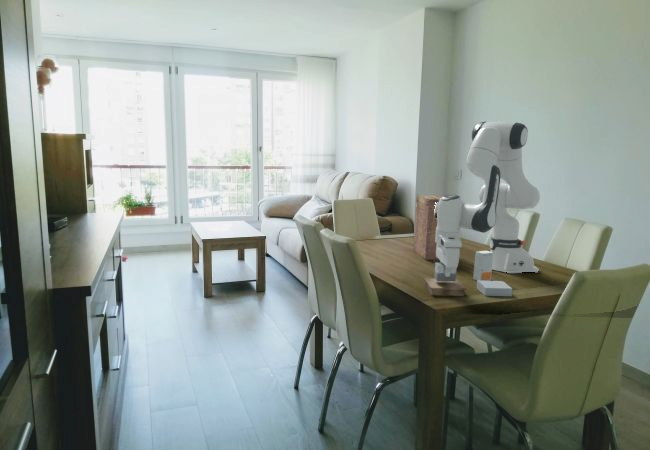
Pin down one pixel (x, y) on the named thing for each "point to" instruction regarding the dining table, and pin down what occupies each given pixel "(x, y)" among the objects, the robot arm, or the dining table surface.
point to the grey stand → (494, 288)
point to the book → (425, 227)
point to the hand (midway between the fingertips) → (445, 274)
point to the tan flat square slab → (444, 287)
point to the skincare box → (483, 265)
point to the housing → (440, 273)
